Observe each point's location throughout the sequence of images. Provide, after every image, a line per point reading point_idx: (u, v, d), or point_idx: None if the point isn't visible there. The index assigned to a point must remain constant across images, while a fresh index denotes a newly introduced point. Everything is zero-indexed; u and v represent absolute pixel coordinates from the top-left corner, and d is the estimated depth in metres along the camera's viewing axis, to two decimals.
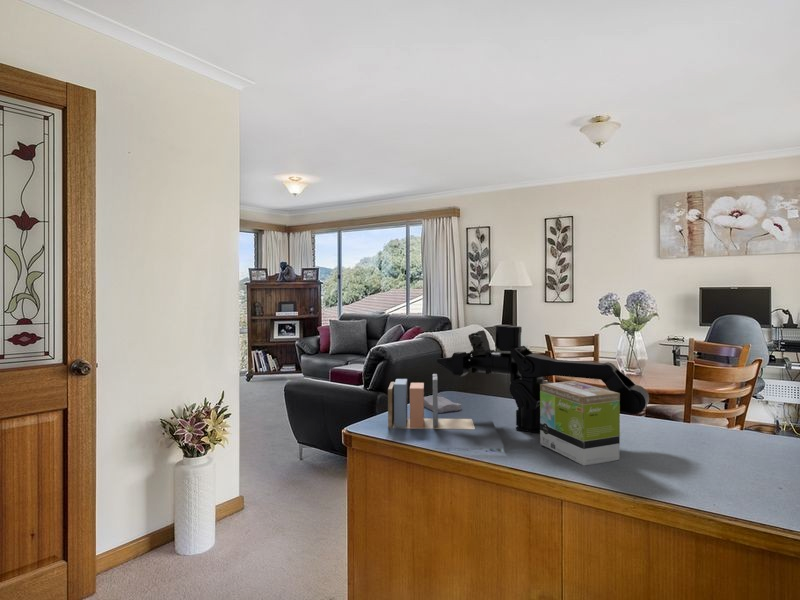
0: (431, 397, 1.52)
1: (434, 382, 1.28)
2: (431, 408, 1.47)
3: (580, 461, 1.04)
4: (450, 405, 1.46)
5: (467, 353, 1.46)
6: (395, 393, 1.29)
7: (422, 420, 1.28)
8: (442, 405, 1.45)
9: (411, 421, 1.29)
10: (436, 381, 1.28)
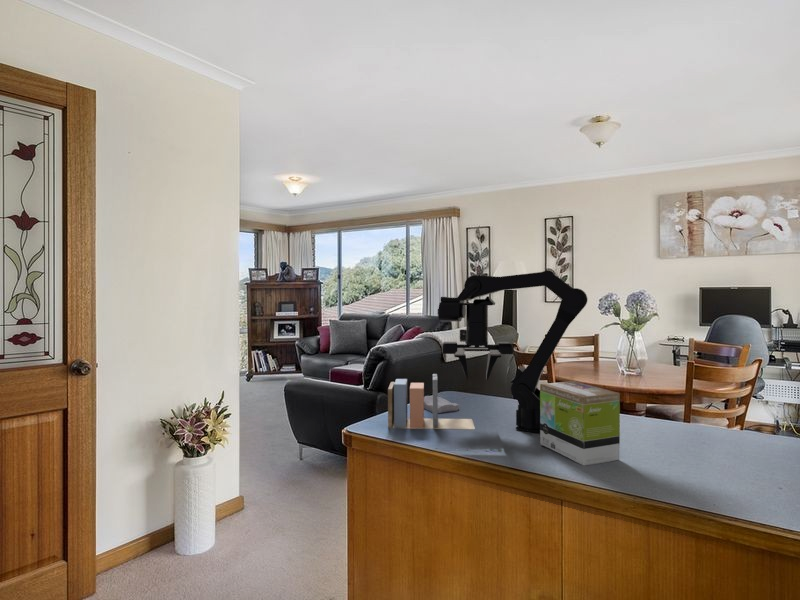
0: (429, 397, 1.52)
1: (434, 382, 1.28)
2: (429, 408, 1.47)
3: (580, 461, 1.04)
4: (448, 405, 1.46)
5: None
6: (395, 393, 1.29)
7: (422, 420, 1.28)
8: (440, 405, 1.45)
9: (411, 421, 1.29)
10: (436, 381, 1.28)
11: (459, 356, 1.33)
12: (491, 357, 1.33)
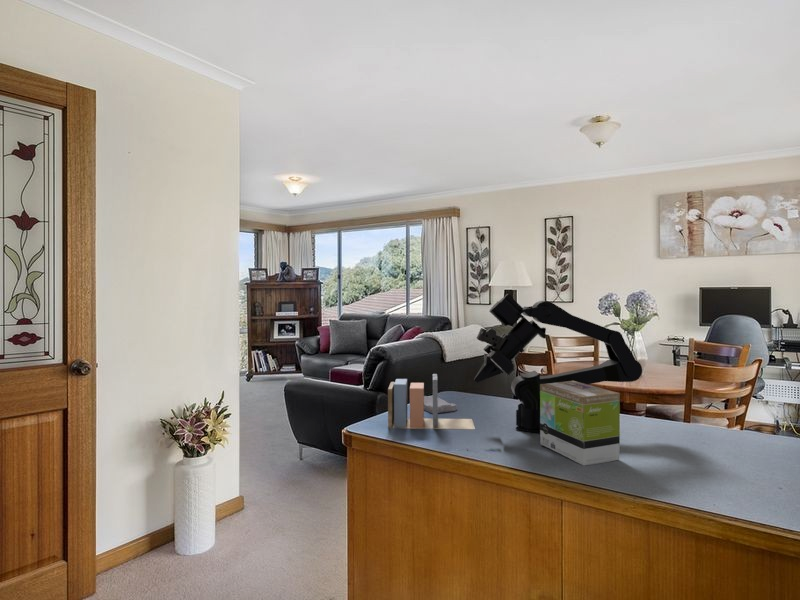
0: (426, 397, 1.52)
1: (434, 382, 1.28)
2: (426, 409, 1.46)
3: (580, 461, 1.04)
4: (445, 405, 1.45)
5: (484, 364, 1.32)
6: (395, 393, 1.29)
7: (422, 420, 1.28)
8: None
9: (411, 421, 1.29)
10: (436, 381, 1.28)
11: None
12: None
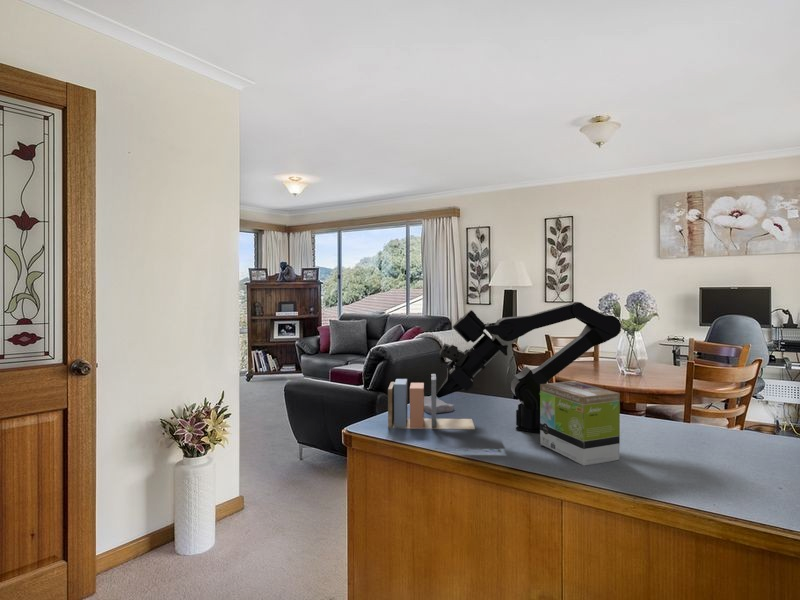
0: (424, 398, 1.51)
1: (433, 382, 1.28)
2: (424, 409, 1.46)
3: (580, 461, 1.04)
4: (443, 406, 1.45)
5: (446, 380, 1.32)
6: (395, 393, 1.29)
7: (422, 420, 1.28)
8: None
9: (411, 421, 1.29)
10: (435, 381, 1.28)
11: None
12: None
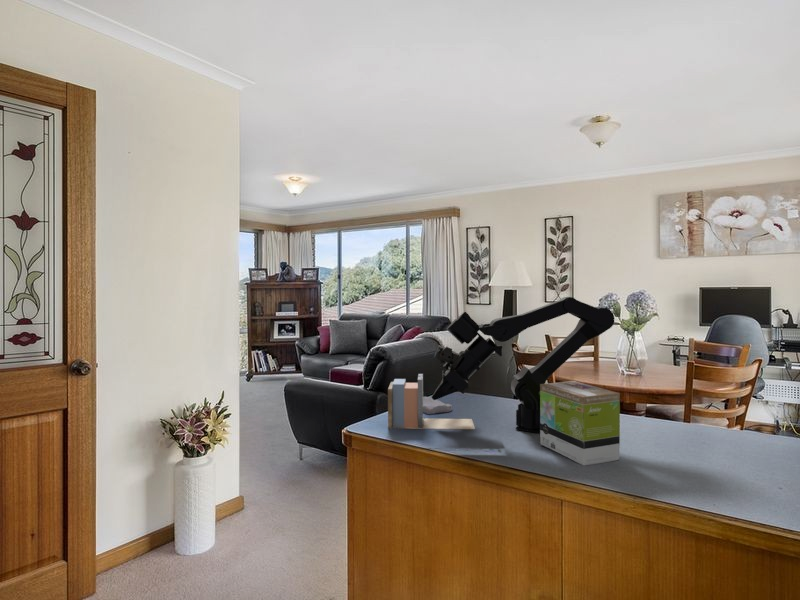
0: None
1: (419, 382, 1.28)
2: None
3: (580, 461, 1.04)
4: (441, 406, 1.45)
5: (441, 382, 1.32)
6: (393, 393, 1.29)
7: (416, 420, 1.29)
8: (433, 406, 1.44)
9: (405, 421, 1.29)
10: (421, 381, 1.28)
11: None
12: None
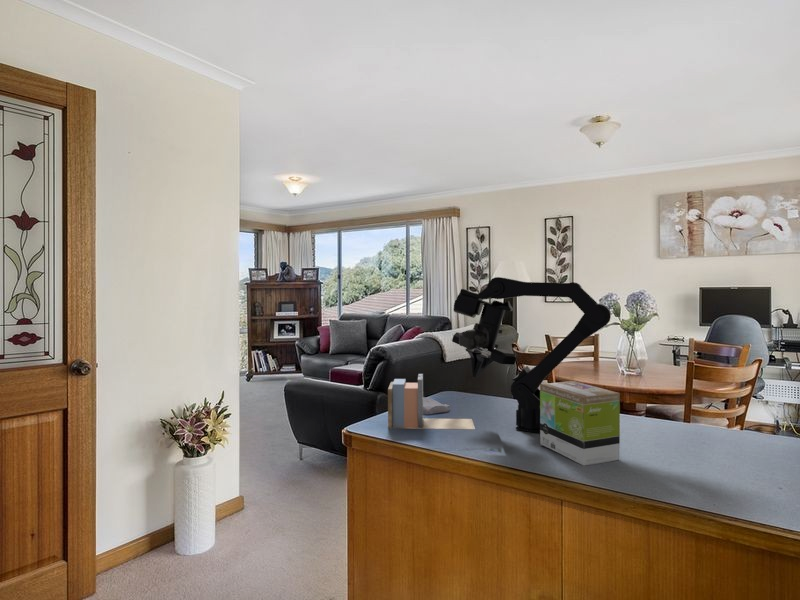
0: None
1: (419, 382, 1.28)
2: None
3: (580, 461, 1.04)
4: (438, 406, 1.44)
5: (474, 360, 1.35)
6: (393, 393, 1.29)
7: (416, 420, 1.29)
8: (430, 406, 1.44)
9: (405, 421, 1.29)
10: (421, 381, 1.28)
11: None
12: None
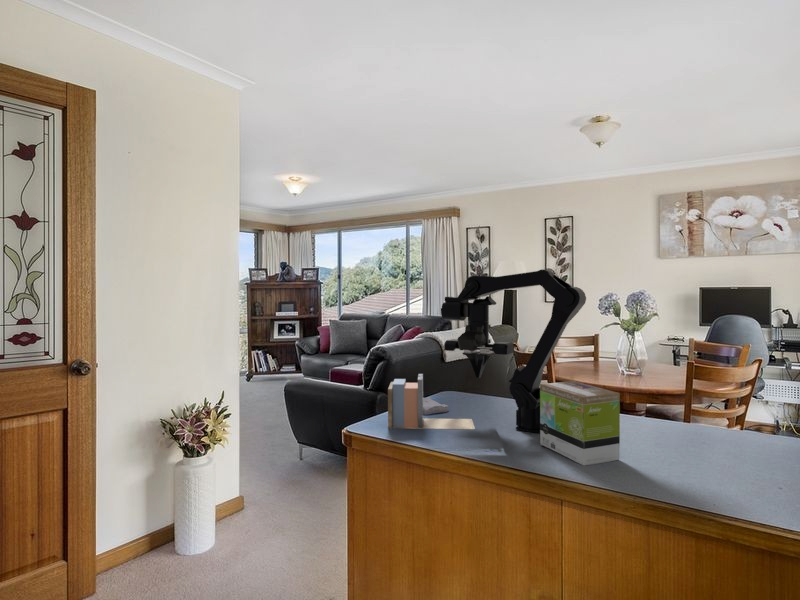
0: None
1: (419, 382, 1.28)
2: None
3: (580, 461, 1.04)
4: (437, 406, 1.44)
5: (474, 361, 1.38)
6: (393, 393, 1.29)
7: (416, 420, 1.29)
8: (429, 406, 1.43)
9: (405, 421, 1.29)
10: (421, 381, 1.28)
11: None
12: None
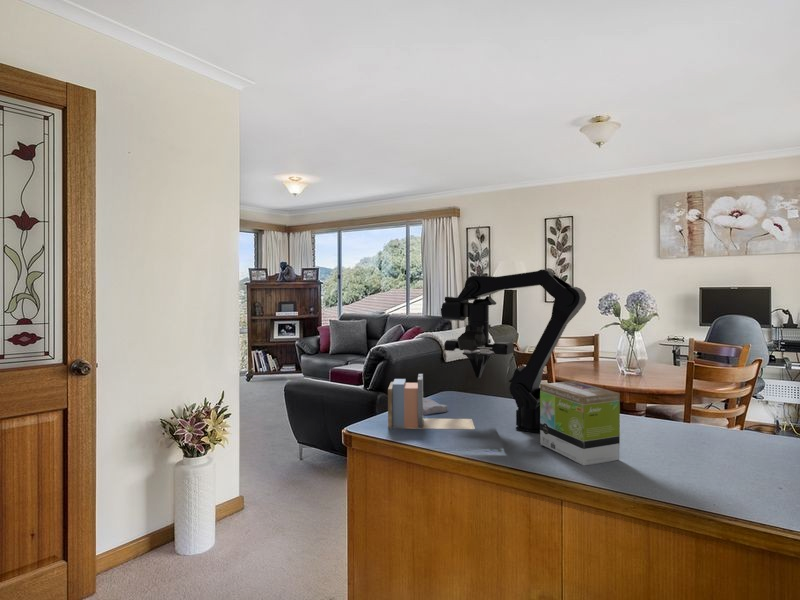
0: None
1: (419, 382, 1.28)
2: None
3: (580, 461, 1.04)
4: (436, 407, 1.44)
5: (474, 361, 1.38)
6: (393, 393, 1.29)
7: (416, 420, 1.29)
8: (428, 407, 1.43)
9: (405, 421, 1.29)
10: (421, 381, 1.28)
11: None
12: None
